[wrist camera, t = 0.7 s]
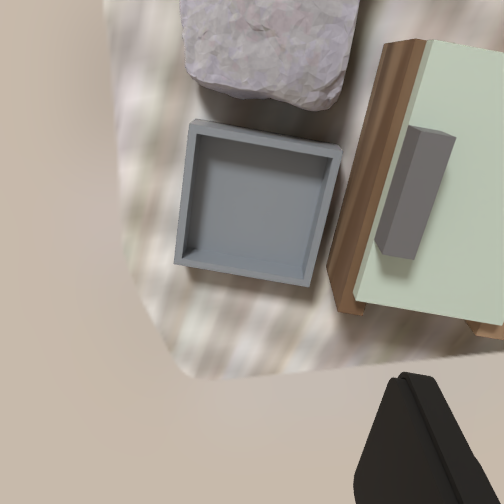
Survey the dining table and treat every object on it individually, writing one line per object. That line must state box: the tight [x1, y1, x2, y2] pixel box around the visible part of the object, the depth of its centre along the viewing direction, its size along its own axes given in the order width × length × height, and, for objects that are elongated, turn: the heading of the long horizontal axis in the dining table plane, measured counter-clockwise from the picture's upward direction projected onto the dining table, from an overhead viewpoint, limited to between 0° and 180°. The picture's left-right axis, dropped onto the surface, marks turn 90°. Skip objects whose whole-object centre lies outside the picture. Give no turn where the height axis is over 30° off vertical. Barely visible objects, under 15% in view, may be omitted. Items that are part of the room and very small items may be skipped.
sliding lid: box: [353, 40, 504, 326], centre depth 22 cm, size 8×14×3 cm, turn 170°
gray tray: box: [174, 119, 343, 287], centre depth 30 cm, size 9×9×2 cm
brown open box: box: [326, 39, 504, 340], centre depth 27 cm, size 16×15×6 cm
